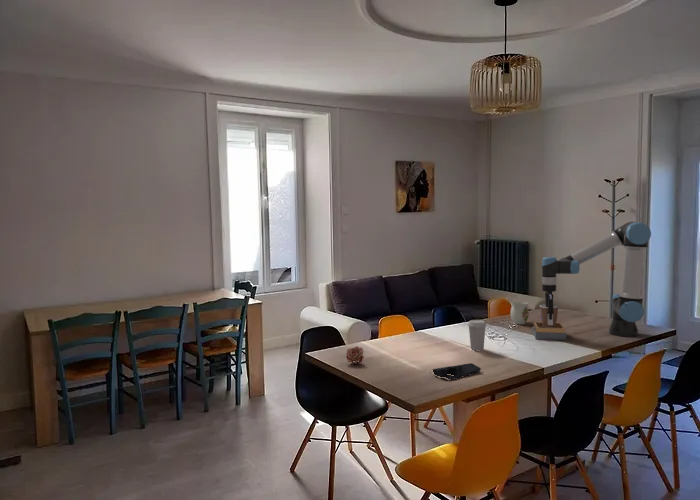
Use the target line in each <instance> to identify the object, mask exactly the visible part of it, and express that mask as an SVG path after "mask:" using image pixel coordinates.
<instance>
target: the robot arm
mask: <svg viewBox="0 0 700 500" xmlns="http://www.w3.org/2000/svg"><path fill="white" fill-rule="evenodd" d="M651 237H652V232H651V228H650V227H649V226H648V225H647V224H646V223H643V222H641V221H628V222H626V223H624V224H622V225H621V226H619V227H617V228H616V229H614V230H612V231H611V233H610V234H608V235H606V236H604V237H603V238H600V239H598V240H596V241H594V242H593V243H590V244H589V245H586V246H585V247H583V248H581V249H578V251H575V252H573V253H571V254H569V255H567V256H566V257H562V258H559V260H558V259H557V257H556V256H544V257H542V259H541V260H542V262H541V263H542V264H541V274H542V275H541V278H540V280H541V281H542V285H541V286H542V287H541V288H542V289H541V291H543V292H545V293H544V296H545V297H544V298H545V299H544V301H545V302H544V303H545V304H546V307H548V312H547V314H548V325H553V313H554V312H553V305H554V294H553V292H556V291H557V275H560V274H561V275H562V274H563V275H576V274H577V275H578V274H579V273H580V268H581V267H580V265H582V264H584V263H586V262H588V261H589V260H592V259H594V258H596V257H598V256H600V255H602V254H604V253H606V252H608V251H610V250H612V249H613V248H616V247H618V246H622V247H623V248H625V260H624V270H623V271H624V272H623V283H622V291H621V293H616V294H613V295H612V316H611V317H612V320H611V322H610V325H609V328H608V333H609V334H610V335H613V336H617V337H630V338H631V337H637V336H639V329H638V326H637V324H636V323H637V322H638V321H640V320H641V319H643V317H644V314H645V308H644V306H643V302H644V296H642V295H641V289H642V279H643V266H644V256H645V255H644V253H645V251H646V250H647V249H648V245H649V241H650V239H651Z"/></svg>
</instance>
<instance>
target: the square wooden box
mask: <svg viewBox="0 0 700 500" xmlns="http://www.w3.org/2000/svg"><path fill="white" fill-rule="evenodd" d="M531 332H532V334H533V336H534V339H535V340H537V341H538V340H539V341H540V340H545V341H567V332H566V328H565V326H564V325H563V324H562V322H556V327H554V328H546V327H543V325H542V321H534V322H533V326H532V327H531Z"/></svg>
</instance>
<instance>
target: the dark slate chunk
mask: <svg viewBox="0 0 700 500" xmlns="http://www.w3.org/2000/svg"><path fill="white" fill-rule="evenodd" d="M432 370H433V372H434V374H435V375H437V376H440V377H446V378H448V379H453V380H455V379H454V378H458V377H462V376H464V377H466V376H465V375H468V376H470V375H469V374H471V375H473V374H472V373H474V374H476V373H479V372H481V370H482V368H481V367H480V366H478V365H475V363H463V364H457V365H449V366H444V367H437V368H433V369H432ZM475 372H476V373H475ZM447 374H451V375H454V376H449V375H447Z"/></svg>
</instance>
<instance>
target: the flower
mask: <svg viewBox="0 0 700 500" xmlns="http://www.w3.org/2000/svg"><path fill="white" fill-rule="evenodd" d="M345 358H346V360H347V362H348V363H350V362H352V363H351V364H357V362H358V361H359V363H358V364H361V363H362V362H363V359H364V358H365V356H364V349H363V348H362V347H360V346H358V345H356V346H354V347H351V348H347V349H346V356H345ZM353 361H355V362H353Z"/></svg>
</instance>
